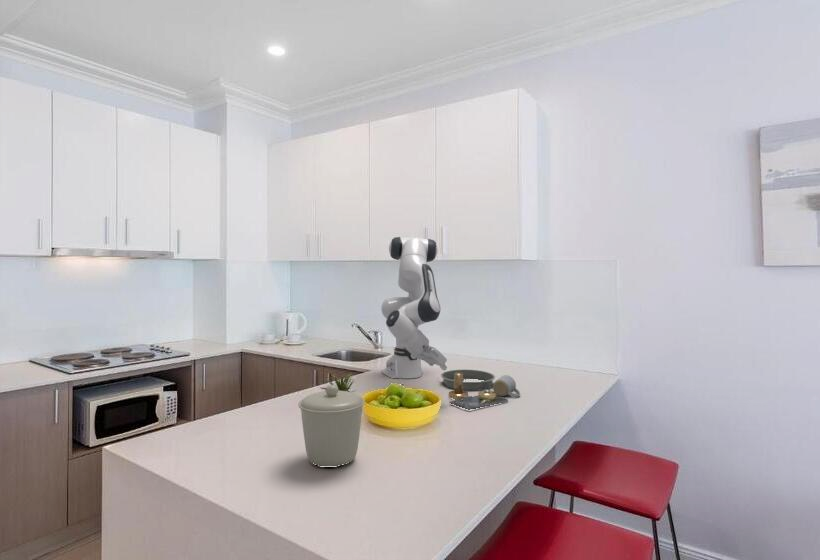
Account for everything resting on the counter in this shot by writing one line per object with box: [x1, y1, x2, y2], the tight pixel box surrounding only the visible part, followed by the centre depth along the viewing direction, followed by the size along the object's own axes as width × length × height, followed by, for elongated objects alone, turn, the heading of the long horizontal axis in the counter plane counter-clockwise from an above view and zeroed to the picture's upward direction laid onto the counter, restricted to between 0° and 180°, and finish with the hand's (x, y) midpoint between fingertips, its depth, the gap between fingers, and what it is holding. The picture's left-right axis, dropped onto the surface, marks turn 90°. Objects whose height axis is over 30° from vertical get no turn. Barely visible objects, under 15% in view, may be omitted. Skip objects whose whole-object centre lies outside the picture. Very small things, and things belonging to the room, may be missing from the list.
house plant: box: [320, 372, 356, 393], centre depth 165 cm, size 14×14×16 cm
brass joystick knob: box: [448, 373, 469, 399], centre depth 190 cm, size 8×8×10 cm
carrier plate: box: [448, 388, 509, 410], centre depth 182 cm, size 12×21×5 cm, turn 125°
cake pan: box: [440, 369, 496, 391], centre depth 212 cm, size 25×25×4 cm
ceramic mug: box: [492, 374, 521, 398], centre depth 194 cm, size 11×8×8 cm
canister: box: [298, 384, 366, 466], centre depth 128 cm, size 18×18×21 cm
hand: (438, 366), depth 186 cm, fingers open, 8 cm apart
